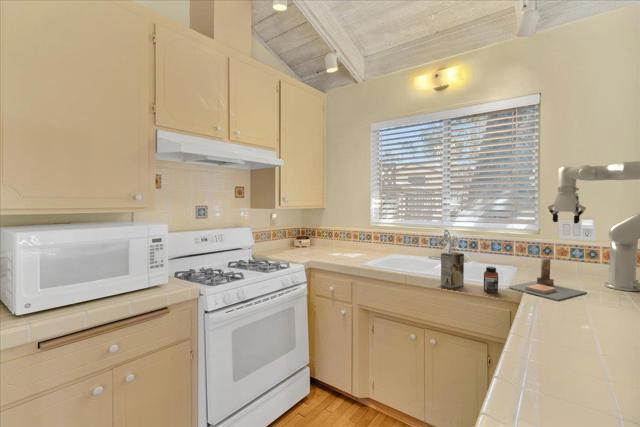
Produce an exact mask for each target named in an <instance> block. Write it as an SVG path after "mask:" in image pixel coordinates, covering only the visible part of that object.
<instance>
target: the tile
mask: <svg viewBox="0 0 640 427" xmlns="http://www.w3.org/2000/svg"><path fill="white" fill-rule="evenodd" d="M525 290H529V291H533V292H537V293H541V294H547V293H551V292H556V288H554V287H549V286H545V285H540V284H535V285H530V286H526V287H525Z"/></svg>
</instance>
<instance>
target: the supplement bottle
mask: <svg viewBox="0 0 640 427" xmlns="http://www.w3.org/2000/svg"><path fill="white" fill-rule="evenodd" d="M483 291H484V292H486V293H491V294H495V293H498V292H499V273H498V272H497V267H496V266H486V269H485V271H484V272H483Z"/></svg>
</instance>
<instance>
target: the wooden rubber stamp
mask: <svg viewBox="0 0 640 427" xmlns="http://www.w3.org/2000/svg"><path fill="white" fill-rule="evenodd" d="M540 266H541V267H540V268H541V269H540V276H538V277H536V281H537V284H542V285H546V286H553V285H555V283H554V281H555V280H554V279H553V278H551V258H549V257H541V265H540Z"/></svg>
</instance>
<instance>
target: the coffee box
mask: <svg viewBox="0 0 640 427" xmlns="http://www.w3.org/2000/svg"><path fill="white" fill-rule="evenodd" d="M464 266H465V254H464V253H460V252H456V251H452V252H444V253H440V286H443V287H445V288H448V289H449V288H450V289H453V288H459V287H463V286H464V283H465V282H464V281H465V280H464V277H465V274H464V273H465V272H464V270H465V267H464Z"/></svg>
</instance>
